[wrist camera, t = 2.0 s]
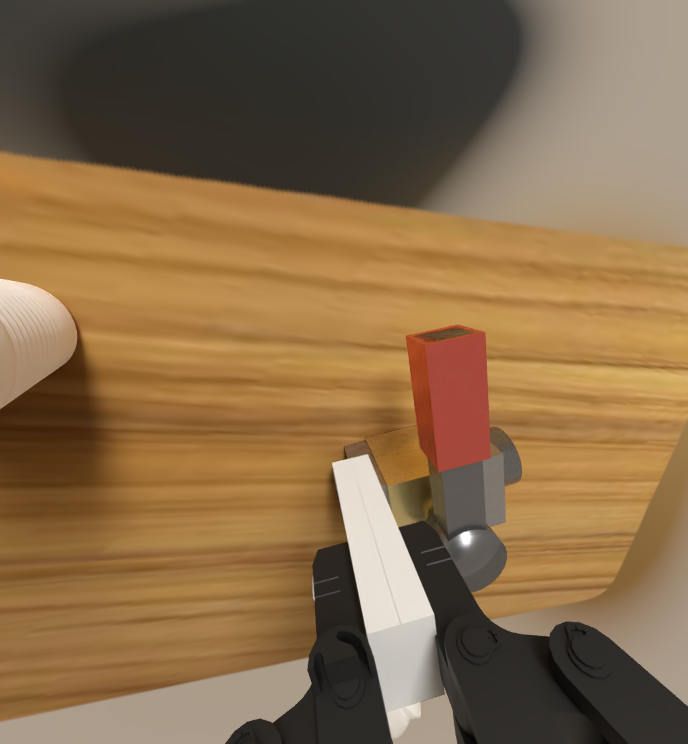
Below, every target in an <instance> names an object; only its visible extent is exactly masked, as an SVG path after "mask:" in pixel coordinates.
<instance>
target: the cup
mask: <svg viewBox="0 0 688 744" xmlns="http://www.w3.org/2000/svg"><path fill="white" fill-rule="evenodd" d="M76 344H77V330H76V326H75V323H74V321H73V319H72V316H71V315H70V313H69V312H68V310H67V309H66V307H65V306H64V305H63V304H62V303H61V302H60V301H59V300H58V299H56V298H55V297H54V296H52V295H51V294H50V293H48V292H46V291H44V290H42V289H40V288H38V287H35V286H32V285H30V284H26V283H20V282H15V281H9V280H4V279H0V409H1V408H3V407H4V406H5V405H7V404H8V403H10V402H11V401H13V400H14V399H15V398H17V397H18V396H20V395H21V394H22V393H24V392H25V391H27V390H28V389H30V388H31V387H32V386H34V385H35V384H37V383H38V382H39V381H41V380H42V379H44V378H45V377H47V376H48V375H49V374H51V373H52V372H54V371H55V370H57V369H58V368H59V367H61V366H62V365H64V364H65V363H66V362H67V361H68V360H69V359H70V358H71V356H72V355H73V353H74V351H75V348H76Z"/></svg>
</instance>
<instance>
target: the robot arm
mask: <svg viewBox="0 0 688 744" xmlns="http://www.w3.org/2000/svg"><path fill="white" fill-rule="evenodd" d="M332 465H333V470H334V475H335V480H336V485H337V490H338V495H339V499H340V504H341V509H342V514H343V519H344V524H345V529H346V534H347V539H348V542H345V543H342V544H338V545H334V546H331V547H327V548H323V549H319V550H318V551H317V554H316V557H315V560H314V563H313V565H312V567H313V582H314V597H315V615H316V632H317V640H316V642H315V644H314V646H313V648H312V650H311V652H310V654H309V661H308V673H309V676H310V679H311V682H312V684H311V686H310V688H309V690H308V691H307V693H306V694H305V696H304V697H303V698H302V699H301V700H300V701H299V702H298V703H297V704H296V705H295V706H294V707H293V708H291V709H290V710H289V711H287V712H286V713H285V714H284V715H282V716H281V717H280V718H278V719H277V720H276V721H275V722H273V723H271V722H269V721H266V720H263V719H257V720H252V721H249V722H246V723H245V724H244V725H242V726H241V727H240V728H238V729H237V730H236V731H234V733H233V734H232V735H231V737H230V738H229V739H228V741H227V742H226V743H225V744H393V741H392V737H391V732H390V727H389V723H388V718H387V713H388V712H391V711H394V710H397V709H400V708H403V707H406V706H410V705H413V704H416V703H419V702H422V701H425V700H428V699H431V698H434V697H438V696H441V695H444V694H445V693H444V687H445V690H446V693H447V695H448V698H449V701H450V704H451V707H452V710H453V718H454V726H455V733H456V739H457V744H688V706H687V705H685V704H684V703H683V702H682V701H681V700H680V699H679V698H677V697H676V696H675V695H674V694H673V693H672V692H671V691H669V690H668V689H667V688H666V687H665V686H663V684H661V683H660V682H659V681H658V680H657V679H656V678H654V677H653V676H652V675H651V674H650V673H649V672H648V671H646V670H645V669H644V668H643V667H642V666H641V665H640V664H638V663H637V662H636V661H635V660H634V659H633V658H631V657H630V656H629V655H628V654H627V653H625V651H623V650H622V649H621V648H620V647H619V646H618V645H616V644H615V643H614V642H613V641H612V640H611V639H610V638H608V637H607V636H605V635H604V634H602V633H601V632H599V631H598V630H597V629H595V628H593V627H590V626H588V625H585V624H582V623H579V622H564V623H561V624H558V625H556V626H555V627H554V629H553V630H552V632H551V633H550V637H547V636H535V635H524V634H517V633H513V632H510V631H507V630H505V629H503V628H501V627H499V626H498V625H496V624H494V623H493V622H492V621H491V620H490V619H489V618H488V617H487V616H485V615H484V613H483V612H482V610H481V609H480V607H479V606H478V604H477V602H476V601H475V599H474V597H473V595H472V593H471V592H470V590H469V588H468V586H467V585H466V583H465V581H464V579H463V577H462V576H461V574H460V572H459V570H458V568H457V567H456V565H455V563H454V561H453V560H452V559H451V556H450V554H449V552H448V551H447V549H446V548H445V546H444V543H443V542H442V540H441V538H440V536H439V535H438V533H437V531H436V530H435V529H434V528H432V527H431V526H430V525H429V524H427V523H426V522H425V521H420V522H416V523H412V524H409V525H405V526H401V527H398V526H397V524H396V521H395V519H394V516H393V514H392V511H391V509H390V507H389V504H388V502H387V499H386V497H385V495H384V492H383V490H382V487H381V485H380V483H379V480H378V478H377V475H376V473H375V470H374V468H373V466H372V463H371V461H370V458H369V456H368V454H367V455H362V456H358V457H354V458H350V459H346V460H342V461H338V462H334V463H332Z"/></svg>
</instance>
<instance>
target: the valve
mask: <svg viewBox="0 0 688 744" xmlns="http://www.w3.org/2000/svg"><path fill="white" fill-rule="evenodd" d="M365 440H366V441H363V442H359V443H355V444H351V445H347V446H344V448H345V453H346V458H347V459H350V458H354V457H358V456H362V455H367V454H368V456H369V458H370V461H371V463H372V466H373V468H374V470H375V473H376V475H377V478H378V480H379V483H380V485H381V487H382V490H383V492H384V495H385V497H386V499H387V502H388V504H389V507H390V509H391V511H392V514H393V516H394V519H395V521H396V524H397V526H398V527H401V526H405V525H409V524H412V523H416V522H420V521H425V520H426V519H427V517H428V516H429V515H430V514H431V513H432V512H434V510H433V502H432V493H431V484H430V476H429V467H428V459H427V457H426V455H425V454H424V453H423V451H422V450H421V449H420V446H419V438H418V430H417V425H415V426H411V427H407V428H403V429H399V430H395V431H391V432H387V433H383V434H379V435H375V436H371V437H367V438H365ZM490 450H491V459H487V460H483V475H484V493H485V512H486V523H487V524H488V525H489V527H491V526H495V525H498V524H502V523H505V522H506V521H505V488H504V486H508V485H512V484H515V483H518V482H519V481H520V479H521V475H522V466H521V461H520V457H519V454H518V452H517V450H516V447H515V446H514V444H513V442H512V441H511V439H510V438H509V437H508V435H507V434H506V433H505V432H504V431H502V430H501V429H500V428H497V427H491V428H490ZM332 473H333V477H334V482H335V486H336V491H337V495H338V490H337V485H336V480H335V475H334V470H333V468H332ZM338 500H339V504H340V499H339V495H338ZM340 508H341V504H340ZM341 513H342V509H341ZM342 517H343V514H342ZM343 522H344V519H343ZM344 526H345V524H344ZM345 530H346V529H345Z"/></svg>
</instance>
